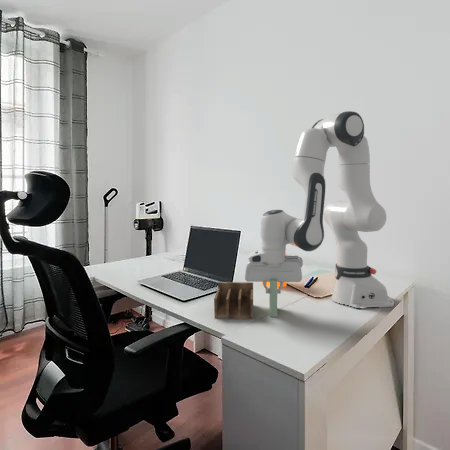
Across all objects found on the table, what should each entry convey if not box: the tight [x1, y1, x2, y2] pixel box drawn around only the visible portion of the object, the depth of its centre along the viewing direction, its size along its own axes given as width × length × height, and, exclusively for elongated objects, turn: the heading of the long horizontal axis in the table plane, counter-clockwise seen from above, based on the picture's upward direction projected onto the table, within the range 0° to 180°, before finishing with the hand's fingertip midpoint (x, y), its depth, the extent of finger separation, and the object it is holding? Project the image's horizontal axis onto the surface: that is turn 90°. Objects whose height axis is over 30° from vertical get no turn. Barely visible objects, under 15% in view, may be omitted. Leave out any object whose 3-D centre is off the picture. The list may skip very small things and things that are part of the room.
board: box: [268, 279, 278, 318], centre depth 119 cm, size 2×9×13 cm, turn 175°
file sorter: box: [213, 281, 254, 320], centre depth 121 cm, size 13×13×9 cm
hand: (273, 293), depth 119 cm, fingers closed on board, 2 cm apart
